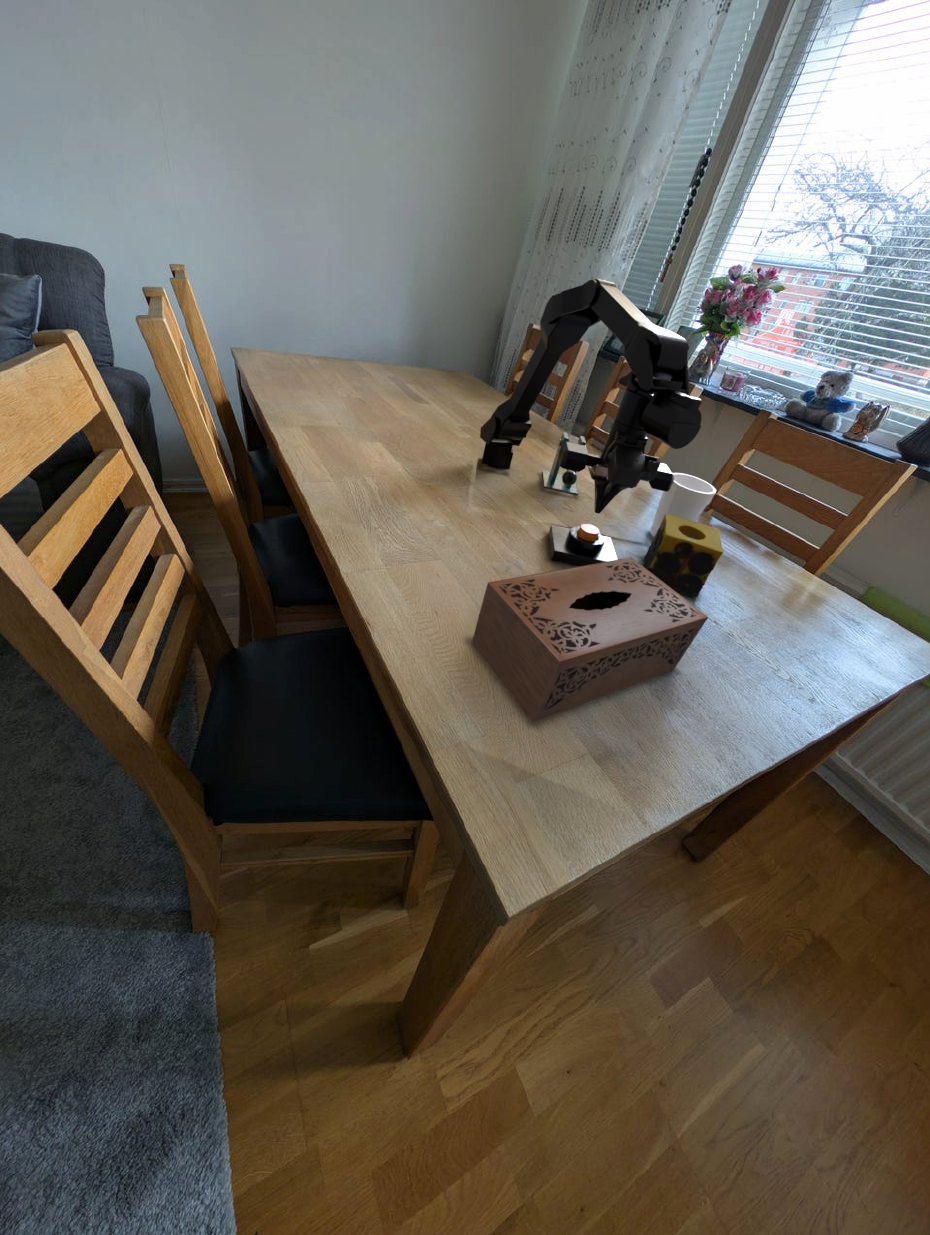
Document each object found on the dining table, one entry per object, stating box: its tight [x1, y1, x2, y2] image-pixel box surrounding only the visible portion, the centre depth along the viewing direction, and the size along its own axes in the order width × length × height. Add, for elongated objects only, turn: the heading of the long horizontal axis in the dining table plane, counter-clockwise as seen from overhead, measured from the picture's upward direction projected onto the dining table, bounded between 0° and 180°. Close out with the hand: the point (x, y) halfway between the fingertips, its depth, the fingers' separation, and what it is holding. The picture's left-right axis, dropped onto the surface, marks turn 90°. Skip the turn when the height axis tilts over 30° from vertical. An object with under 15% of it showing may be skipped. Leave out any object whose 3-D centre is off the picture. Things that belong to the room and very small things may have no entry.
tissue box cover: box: [471, 557, 709, 723], centre depth 64 cm, size 26×14×10 cm, turn 120°
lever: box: [562, 435, 579, 486], centre depth 107 cm, size 13×3×3 cm, turn 175°
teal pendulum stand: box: [541, 431, 587, 496], centre depth 111 cm, size 10×8×12 cm
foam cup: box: [649, 472, 717, 538], centre depth 99 cm, size 10×9×13 cm
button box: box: [547, 524, 619, 567], centre depth 90 cm, size 12×10×4 cm
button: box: [577, 523, 601, 541], centre depth 88 cm, size 4×4×2 cm
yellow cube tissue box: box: [642, 514, 724, 599], centre depth 87 cm, size 10×10×10 cm
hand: (596, 512), depth 86 cm, fingers closed
